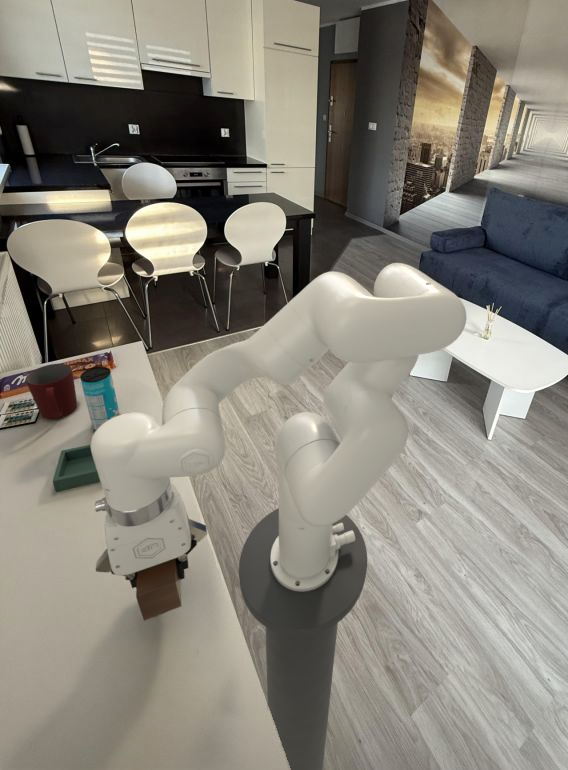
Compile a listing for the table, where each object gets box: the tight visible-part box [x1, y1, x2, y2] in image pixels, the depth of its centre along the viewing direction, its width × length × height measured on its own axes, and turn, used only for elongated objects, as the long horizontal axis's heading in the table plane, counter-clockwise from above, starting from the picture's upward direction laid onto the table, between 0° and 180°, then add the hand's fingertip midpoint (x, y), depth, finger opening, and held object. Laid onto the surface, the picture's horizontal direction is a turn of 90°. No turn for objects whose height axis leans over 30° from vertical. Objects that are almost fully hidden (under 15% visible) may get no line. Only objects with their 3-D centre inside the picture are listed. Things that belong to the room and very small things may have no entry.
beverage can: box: [79, 366, 121, 431], centre depth 94 cm, size 6×6×15 cm
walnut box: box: [135, 558, 182, 622], centre depth 61 cm, size 10×5×6 cm, turn 24°
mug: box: [25, 363, 78, 421], centre depth 97 cm, size 12×9×11 cm
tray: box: [51, 444, 101, 493], centre depth 85 cm, size 14×9×3 cm, turn 114°
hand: (161, 576), depth 62 cm, fingers closed on walnut box, 5 cm apart
